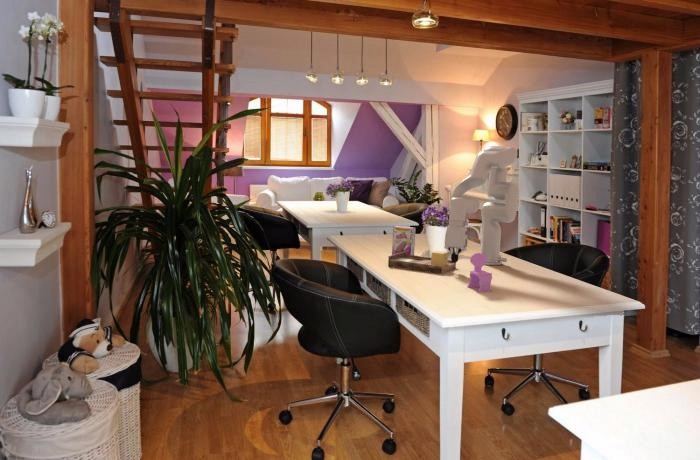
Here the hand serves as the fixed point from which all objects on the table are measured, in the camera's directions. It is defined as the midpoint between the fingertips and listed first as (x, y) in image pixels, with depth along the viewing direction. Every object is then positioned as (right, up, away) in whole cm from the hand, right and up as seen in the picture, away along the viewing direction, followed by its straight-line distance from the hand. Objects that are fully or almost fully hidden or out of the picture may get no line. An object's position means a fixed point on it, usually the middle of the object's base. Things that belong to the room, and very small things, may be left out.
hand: (454, 262), depth 287 cm
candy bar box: (-21, 0, +34) cm, 40 cm away
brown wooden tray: (-14, -3, +10) cm, 18 cm away
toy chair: (+5, -10, -33) cm, 35 cm away
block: (-7, -2, +5) cm, 8 cm away
